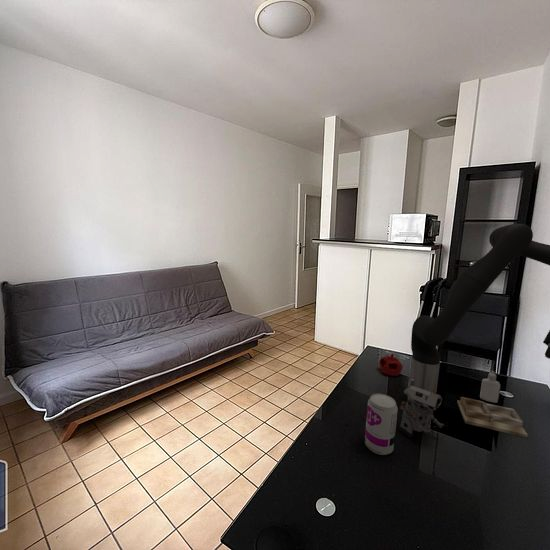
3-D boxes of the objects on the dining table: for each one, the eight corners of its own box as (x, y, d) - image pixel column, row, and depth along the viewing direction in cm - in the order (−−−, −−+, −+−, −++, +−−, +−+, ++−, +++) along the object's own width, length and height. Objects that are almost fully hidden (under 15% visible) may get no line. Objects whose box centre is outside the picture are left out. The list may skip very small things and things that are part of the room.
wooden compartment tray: (465, 423, 98) (466, 415, 97) (457, 402, 110) (458, 395, 109) (527, 437, 91) (528, 429, 91) (511, 414, 103) (512, 406, 103)
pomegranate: (385, 366, 139) (387, 347, 137) (405, 374, 131) (407, 354, 130) (374, 371, 132) (376, 352, 131) (395, 380, 125) (397, 360, 123)
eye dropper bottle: (493, 405, 109) (498, 375, 107) (477, 397, 114) (482, 369, 112) (499, 402, 111) (504, 373, 109) (483, 394, 116) (487, 366, 114)
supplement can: (375, 459, 81) (379, 410, 79) (359, 438, 89) (362, 394, 86) (399, 454, 83) (404, 406, 81) (381, 434, 91) (386, 390, 89)
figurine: (426, 451, 85) (432, 404, 82) (395, 427, 95) (399, 385, 92) (446, 441, 89) (452, 397, 86) (413, 419, 99) (418, 379, 96)
